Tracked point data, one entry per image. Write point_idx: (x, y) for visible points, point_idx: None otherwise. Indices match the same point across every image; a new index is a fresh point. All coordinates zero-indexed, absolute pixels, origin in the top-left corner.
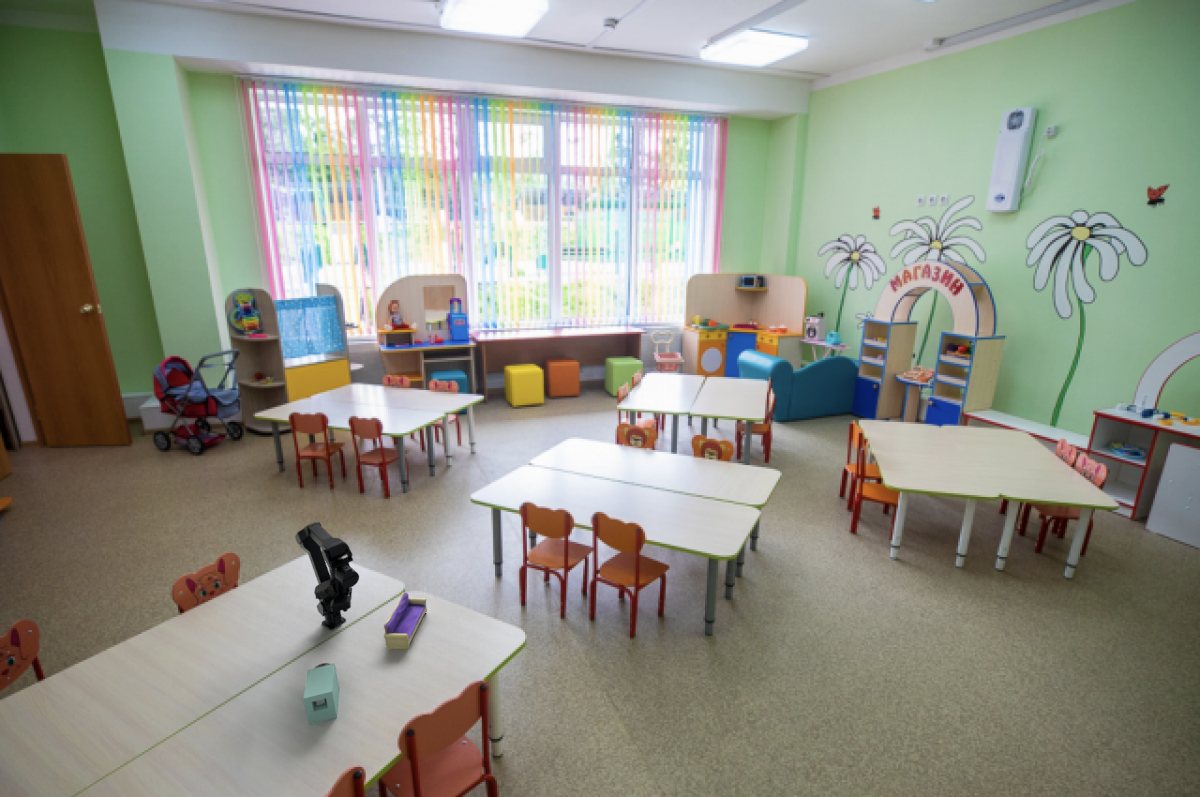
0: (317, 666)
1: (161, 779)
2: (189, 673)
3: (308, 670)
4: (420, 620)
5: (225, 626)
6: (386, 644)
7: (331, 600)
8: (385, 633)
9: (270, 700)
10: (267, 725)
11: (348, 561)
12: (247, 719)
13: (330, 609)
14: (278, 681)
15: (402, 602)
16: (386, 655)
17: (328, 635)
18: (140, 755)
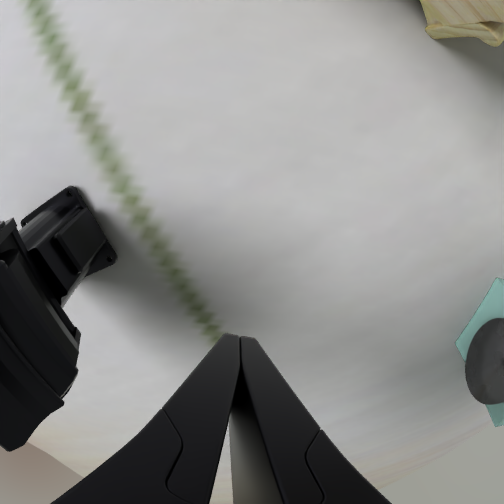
0: (501, 402)
1: (403, 474)
2: None
3: (499, 424)
4: None
5: (52, 428)
6: (449, 36)
7: (24, 379)
8: (492, 27)
9: (378, 414)
10: (443, 408)
11: None
12: (394, 434)
13: (66, 340)
14: (322, 407)
15: None
16: (476, 65)
17: (153, 271)
18: None
